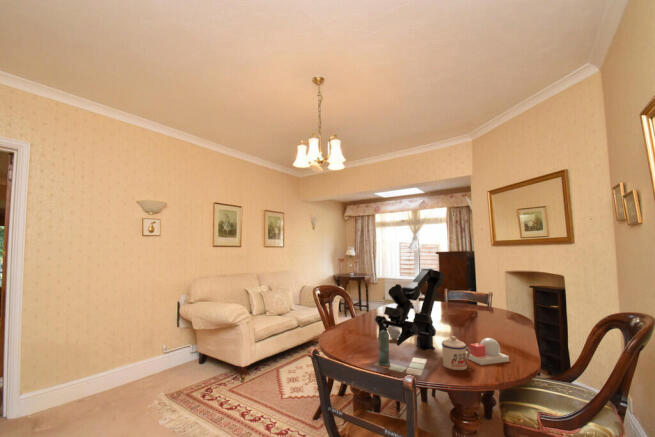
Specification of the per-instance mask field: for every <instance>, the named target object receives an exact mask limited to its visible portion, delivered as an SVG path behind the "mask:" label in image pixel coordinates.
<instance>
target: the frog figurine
mask: <svg viewBox="0 0 655 437" xmlns="http://www.w3.org/2000/svg"><path fill="white" fill-rule="evenodd" d="M387 332H388V334H389V338H390V339H392V340H393V341H396V340H397V341H398V339H399V336H400V334H401V330H400V328H399V327H394V326H389V327H388V328H387Z"/></svg>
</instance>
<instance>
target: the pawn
mask: <svg viewBox="0 0 655 437" xmlns="http://www.w3.org/2000/svg"><path fill="white" fill-rule="evenodd" d="M378 334H379V335H378ZM378 334H377V336H379V340H378V360H377V363H378V365H380V366H383V367H387V366H389V367H391V366H390V363H391V361H390V334H389V333H388V330H387V331H385V330H382V331H380V332H379V331H378ZM378 365H377V366H378ZM380 366H379V367H380ZM383 367H382V368H383ZM387 368H388V367H387Z"/></svg>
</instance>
